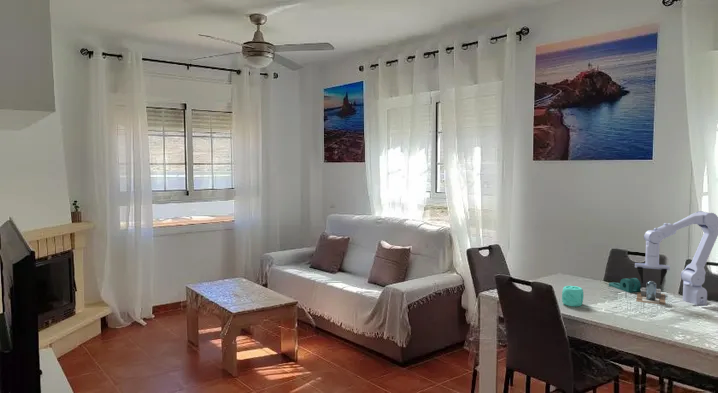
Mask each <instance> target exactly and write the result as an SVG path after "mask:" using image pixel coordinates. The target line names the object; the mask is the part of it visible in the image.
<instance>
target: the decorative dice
mask: <svg viewBox="0 0 718 393" xmlns="http://www.w3.org/2000/svg"><path fill="white" fill-rule="evenodd" d="M561 302H562V303H563V304H564V305H566V306H567V305H568V307H573V308H575V307H576V308H577V307H581V306H582V305H583V303H584V289H583V288H582V287H580V286H577V285H566V286H563V288H562V293H561Z"/></svg>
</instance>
